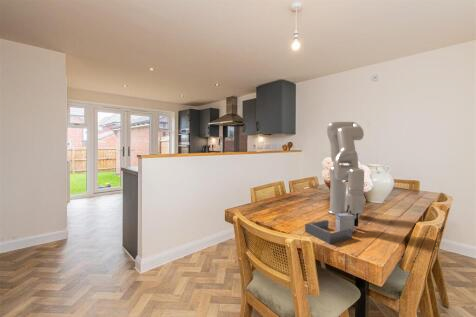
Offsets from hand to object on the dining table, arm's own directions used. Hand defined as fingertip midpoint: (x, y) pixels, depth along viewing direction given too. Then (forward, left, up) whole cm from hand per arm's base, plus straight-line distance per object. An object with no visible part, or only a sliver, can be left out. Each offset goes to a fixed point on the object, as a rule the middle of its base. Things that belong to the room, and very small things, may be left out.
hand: (354, 225), depth 122 cm
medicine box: (+8, 0, -2) cm, 8 cm away
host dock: (+20, 0, -2) cm, 20 cm away
